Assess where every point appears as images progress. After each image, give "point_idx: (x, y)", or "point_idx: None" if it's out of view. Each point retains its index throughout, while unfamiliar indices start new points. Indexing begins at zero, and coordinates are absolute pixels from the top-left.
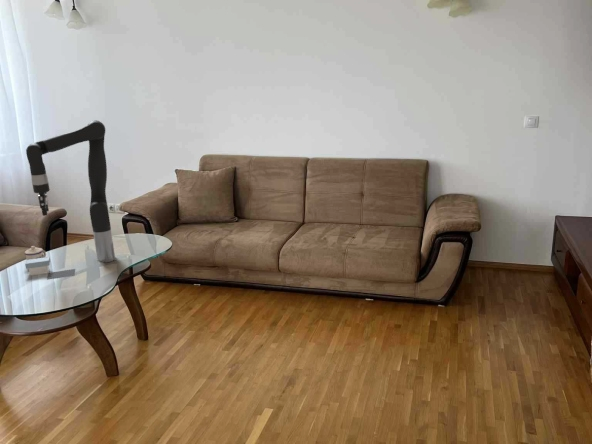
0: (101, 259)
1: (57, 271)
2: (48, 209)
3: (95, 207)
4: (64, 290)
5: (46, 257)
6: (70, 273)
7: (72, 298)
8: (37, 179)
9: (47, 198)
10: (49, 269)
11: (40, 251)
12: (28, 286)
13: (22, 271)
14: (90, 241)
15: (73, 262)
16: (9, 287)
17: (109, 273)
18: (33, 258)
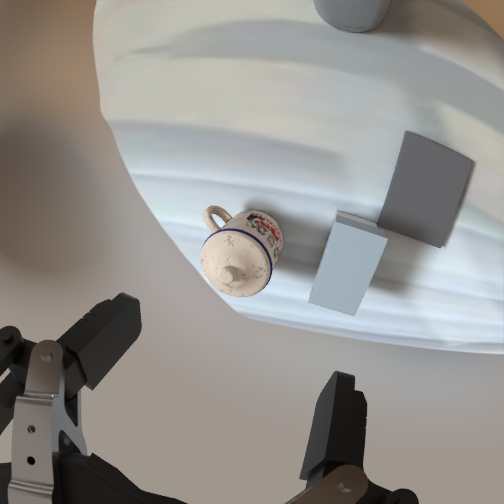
0: (380, 21)
1: (388, 195)
2: (123, 306)
3: None
4: None
5: (336, 234)
6: (444, 164)
7: None
8: None
9: (26, 437)
10: (341, 214)
11: (259, 245)
12: (430, 298)
13: (275, 283)
14: (100, 50)
15: (295, 111)
16: (392, 336)
17: (499, 60)
18: (273, 266)
